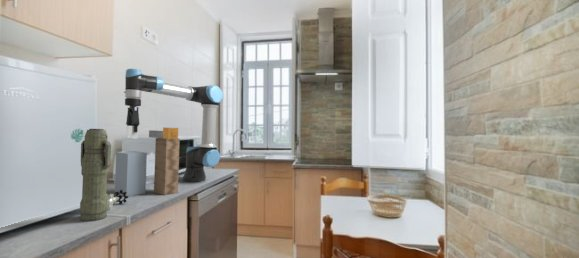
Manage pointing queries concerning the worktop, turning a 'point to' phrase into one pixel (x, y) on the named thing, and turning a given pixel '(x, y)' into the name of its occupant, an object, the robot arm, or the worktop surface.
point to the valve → (115, 199)
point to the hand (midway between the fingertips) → (132, 138)
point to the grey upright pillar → (130, 172)
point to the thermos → (94, 174)
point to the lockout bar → (164, 133)
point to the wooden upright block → (166, 166)
